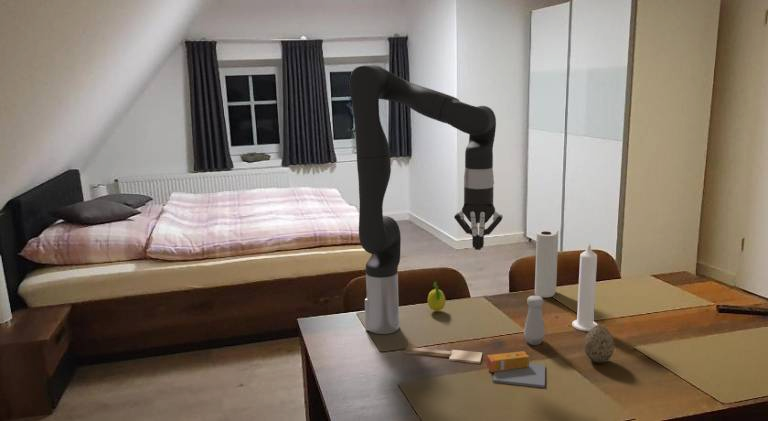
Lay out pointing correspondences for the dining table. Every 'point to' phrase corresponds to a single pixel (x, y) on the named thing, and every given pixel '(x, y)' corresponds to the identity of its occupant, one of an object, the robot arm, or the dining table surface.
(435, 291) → the lemon
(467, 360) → the turner
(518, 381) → the mat
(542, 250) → the paper towel roll
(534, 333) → the salt shaker
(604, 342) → the decorative egg
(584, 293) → the candle
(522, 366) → the supplement box
